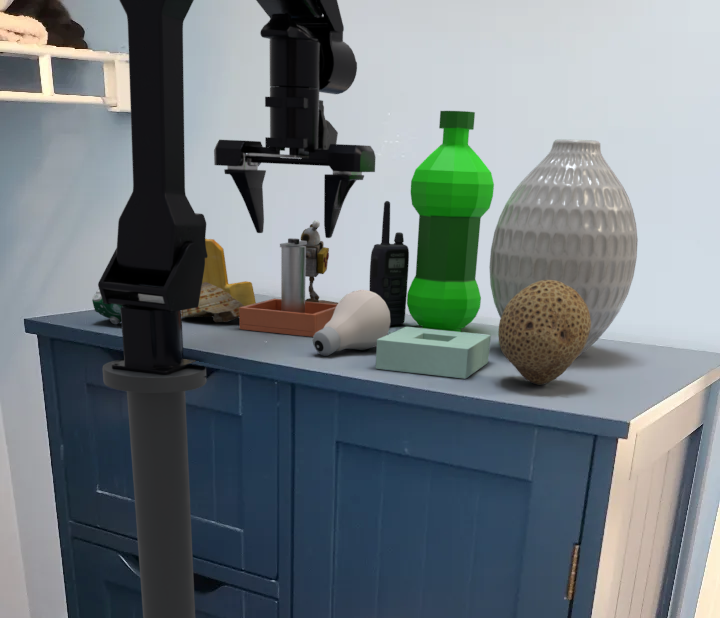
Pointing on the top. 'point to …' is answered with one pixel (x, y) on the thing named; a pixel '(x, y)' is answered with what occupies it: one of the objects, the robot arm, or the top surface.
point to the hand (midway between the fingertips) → (293, 235)
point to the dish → (285, 318)
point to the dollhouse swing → (224, 275)
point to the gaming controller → (107, 308)
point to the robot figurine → (315, 258)
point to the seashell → (214, 305)
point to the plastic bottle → (449, 228)
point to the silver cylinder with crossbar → (293, 275)
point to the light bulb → (354, 324)
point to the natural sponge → (544, 330)
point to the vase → (568, 233)
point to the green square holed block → (433, 352)
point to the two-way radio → (390, 270)
